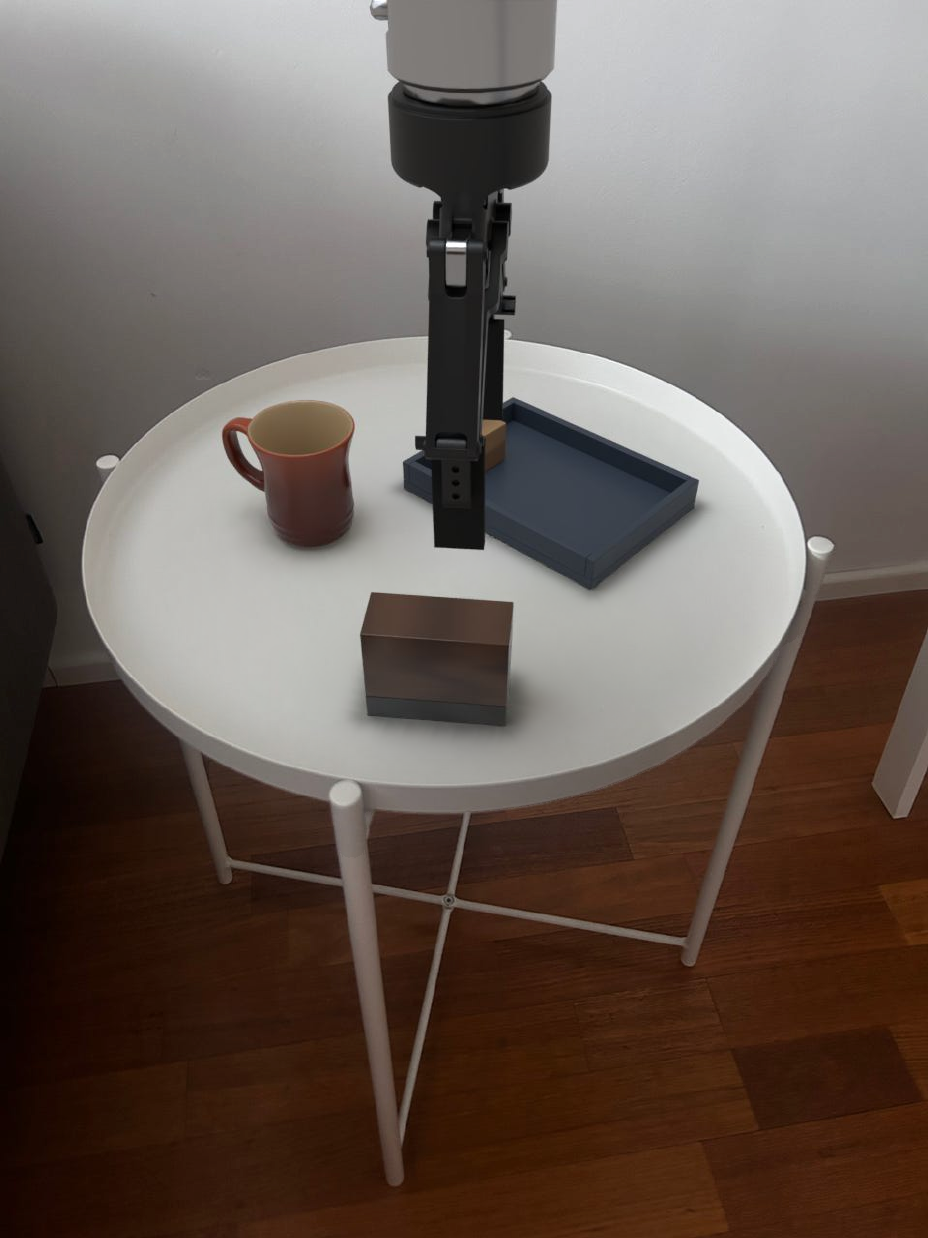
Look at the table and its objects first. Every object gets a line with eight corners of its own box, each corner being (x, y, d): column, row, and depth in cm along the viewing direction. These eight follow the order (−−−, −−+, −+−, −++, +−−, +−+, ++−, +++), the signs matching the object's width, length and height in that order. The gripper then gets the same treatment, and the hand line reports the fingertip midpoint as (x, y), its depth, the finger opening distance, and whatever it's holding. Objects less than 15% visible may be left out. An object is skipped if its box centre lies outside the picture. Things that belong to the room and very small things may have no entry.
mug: (379, 511, 91) (372, 411, 84) (334, 568, 85) (323, 465, 78) (263, 482, 94) (247, 384, 87) (212, 535, 88) (191, 434, 81)
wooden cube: (505, 459, 95) (506, 422, 93) (477, 477, 93) (477, 439, 90) (473, 443, 97) (474, 407, 95) (445, 461, 95) (445, 424, 92)
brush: (510, 682, 75) (513, 601, 70) (505, 726, 72) (509, 645, 66) (377, 672, 76) (370, 591, 70) (367, 715, 73) (359, 634, 67)
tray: (694, 507, 91) (699, 479, 89) (590, 590, 83) (594, 561, 81) (511, 422, 102) (513, 396, 100) (403, 488, 94) (402, 461, 92)
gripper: (423, 19, 55) (434, 371, 69) (334, 169, 37) (374, 608, 51) (560, 21, 55) (543, 376, 69) (540, 174, 36) (522, 617, 50)
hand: (471, 475), depth 60 cm, fingers open, 13 cm apart
